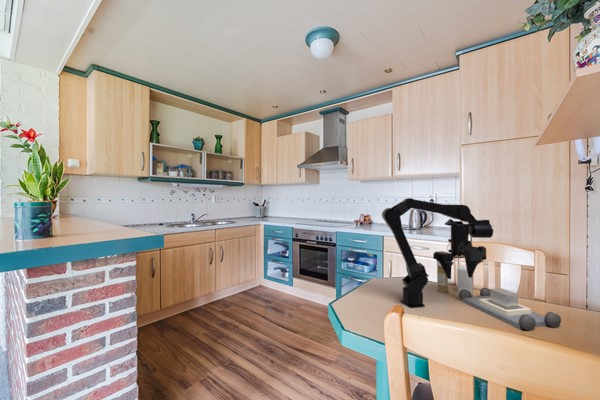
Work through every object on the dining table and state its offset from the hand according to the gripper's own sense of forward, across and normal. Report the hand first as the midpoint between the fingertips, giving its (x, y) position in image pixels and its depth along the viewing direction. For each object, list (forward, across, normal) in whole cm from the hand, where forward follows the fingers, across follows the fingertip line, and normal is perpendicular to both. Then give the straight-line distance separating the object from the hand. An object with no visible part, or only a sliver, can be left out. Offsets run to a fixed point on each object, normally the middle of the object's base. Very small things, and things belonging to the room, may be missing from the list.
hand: (459, 278), depth 97 cm
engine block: (+10, +12, -7) cm, 17 cm away
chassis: (+11, +12, -7) cm, 18 cm away
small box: (+11, +16, +14) cm, 24 cm away
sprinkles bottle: (+11, +6, +16) cm, 20 cm away
